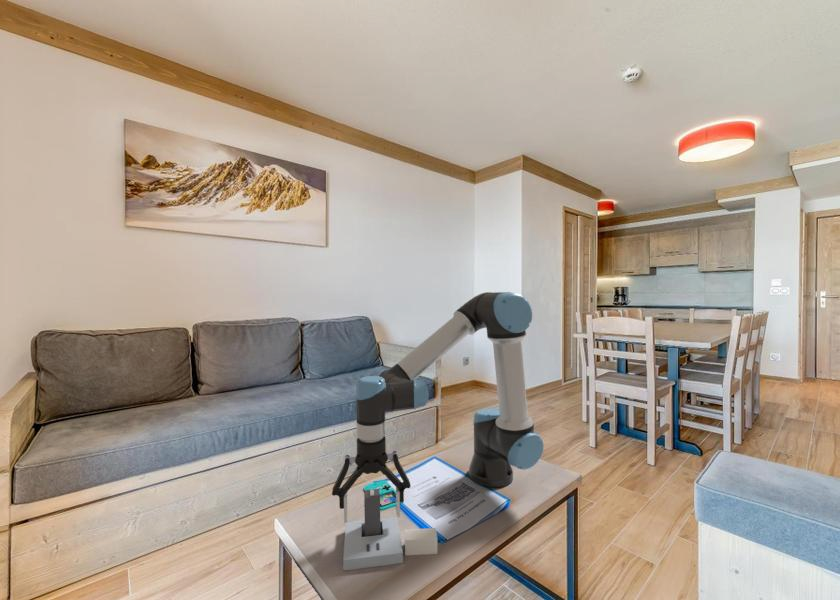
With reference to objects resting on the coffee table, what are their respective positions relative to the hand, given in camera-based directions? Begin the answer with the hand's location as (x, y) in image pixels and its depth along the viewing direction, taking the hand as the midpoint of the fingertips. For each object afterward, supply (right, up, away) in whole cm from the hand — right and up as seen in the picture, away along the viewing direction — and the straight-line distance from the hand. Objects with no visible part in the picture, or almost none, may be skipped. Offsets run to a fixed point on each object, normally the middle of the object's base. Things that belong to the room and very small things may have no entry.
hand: (372, 516), depth 95 cm
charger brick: (0, -6, 0) cm, 6 cm away
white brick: (+13, -6, -4) cm, 15 cm away
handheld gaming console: (+1, -6, +21) cm, 21 cm away
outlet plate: (0, -6, -3) cm, 6 cm away
